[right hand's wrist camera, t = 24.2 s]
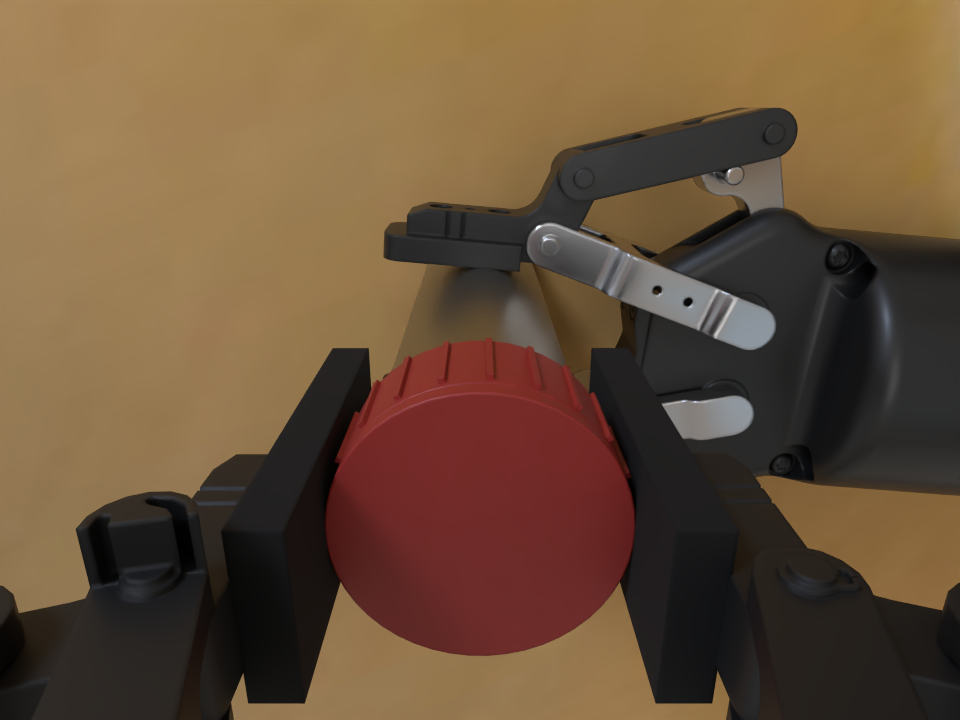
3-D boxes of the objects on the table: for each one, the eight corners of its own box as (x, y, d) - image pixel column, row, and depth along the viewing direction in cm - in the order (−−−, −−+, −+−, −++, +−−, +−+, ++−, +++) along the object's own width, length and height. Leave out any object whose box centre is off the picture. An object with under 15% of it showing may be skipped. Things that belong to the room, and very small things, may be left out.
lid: (574, 298, 11) (596, 343, 9) (640, 533, 13) (672, 618, 11) (305, 381, 12) (267, 442, 10) (402, 597, 13) (387, 690, 11)
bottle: (555, 270, 26) (656, 490, 11) (484, 345, 27) (490, 639, 12) (475, 199, 25) (468, 334, 10) (406, 279, 26) (305, 509, 11)
